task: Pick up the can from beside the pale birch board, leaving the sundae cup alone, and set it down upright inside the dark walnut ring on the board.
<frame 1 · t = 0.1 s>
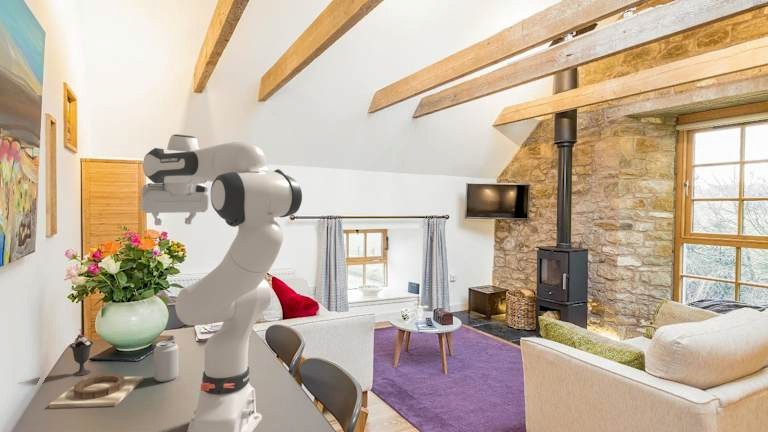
hand: (173, 224, 143), 52 cm above the table, tool tilted 20°, fingers open, 8 cm apart
sundae: (81, 373, 149), on the table
ring board: (99, 392, 135), on the table
can: (166, 378, 146), on the table
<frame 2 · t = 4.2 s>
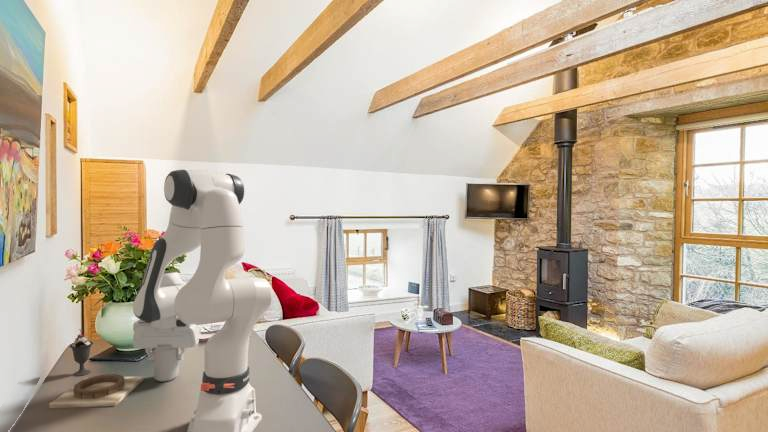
hand: (166, 360, 146), 6 cm above the table, tool pointing down, fingers closed on can, 7 cm apart
can: (166, 378, 146), on the table, touching gripper
everything else where it was.
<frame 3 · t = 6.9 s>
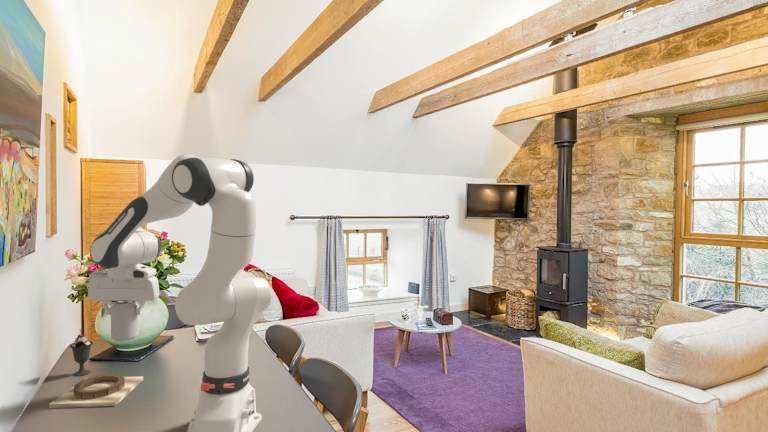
hand: (124, 314, 138), 24 cm above the table, tool pointing down, fingers closed on can, 7 cm apart
can: (124, 338, 139), point 16 cm above the table, touching gripper
everything else where it was.
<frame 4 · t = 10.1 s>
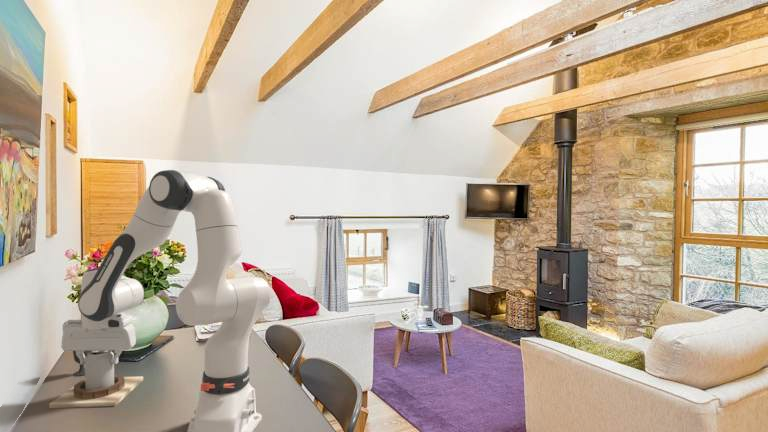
hand: (99, 363, 134), 9 cm above the table, tool pointing down, fingers closed on can, 7 cm apart
can: (100, 389, 135), point 1 cm above the table, touching gripper, ring board
everything else where it was.
when the fingers open (9 cm above the table, at t = 11.2 s): can stays where it is, resting on ring board.
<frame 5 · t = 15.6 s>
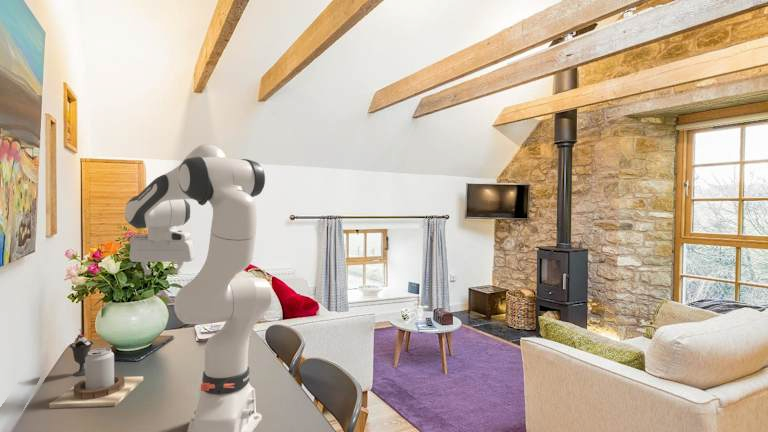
hand: (162, 274, 149), 34 cm above the table, tool pointing down, fingers open, 8 cm apart
can: (100, 389, 135), point 1 cm above the table, touching ring board
everything else where it was.
at the end: can 0.3 cm off-centre on the ring board, point 1.0 cm above the ring board's base; can tilted 0°; sundae moved 0.2 cm from its start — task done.
